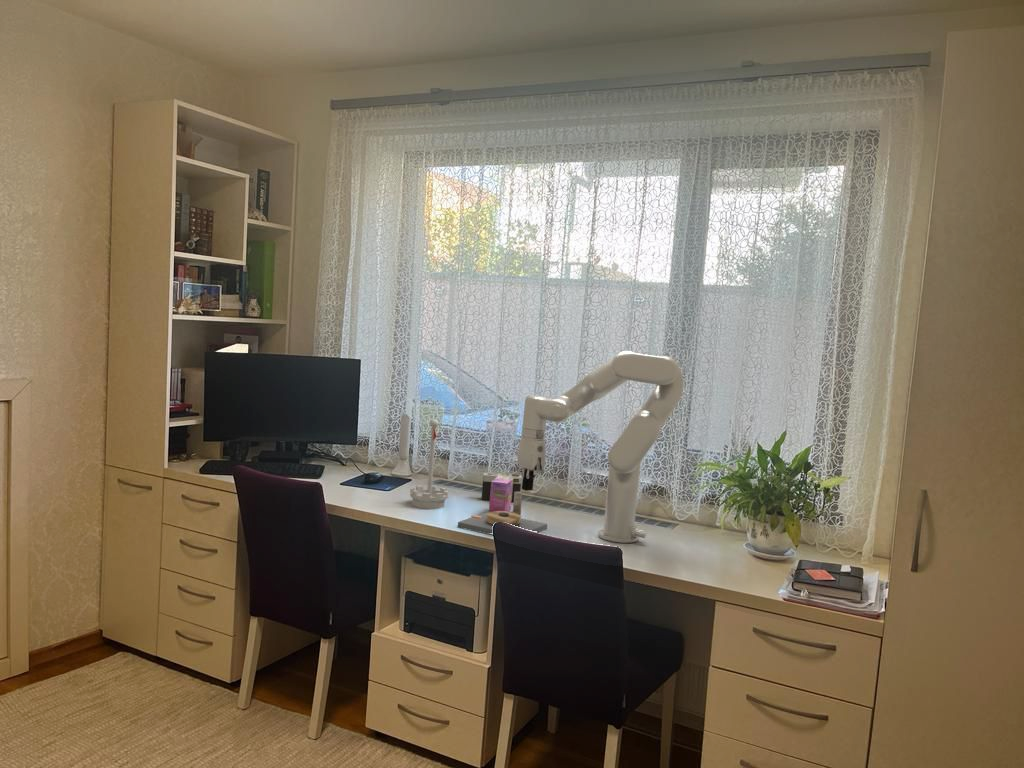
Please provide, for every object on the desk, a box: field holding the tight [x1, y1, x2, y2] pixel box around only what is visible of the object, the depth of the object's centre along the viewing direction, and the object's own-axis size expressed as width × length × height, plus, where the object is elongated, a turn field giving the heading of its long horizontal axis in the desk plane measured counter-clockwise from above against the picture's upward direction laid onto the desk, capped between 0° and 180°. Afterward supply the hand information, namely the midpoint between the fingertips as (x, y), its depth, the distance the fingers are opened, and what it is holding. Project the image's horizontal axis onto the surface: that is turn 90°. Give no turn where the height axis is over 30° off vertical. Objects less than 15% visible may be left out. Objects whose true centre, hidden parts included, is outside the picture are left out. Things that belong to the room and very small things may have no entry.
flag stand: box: [409, 418, 449, 510], centre depth 278 cm, size 13×13×30 cm
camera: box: [481, 472, 522, 504], centre depth 292 cm, size 14×8×10 cm, turn 93°
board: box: [457, 510, 548, 534], centre depth 257 cm, size 22×21×2 cm
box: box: [488, 476, 513, 512], centre depth 274 cm, size 10×6×12 cm, turn 168°
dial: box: [486, 491, 523, 526], centre depth 258 cm, size 16×11×8 cm
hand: (527, 489), depth 260 cm, fingers closed
